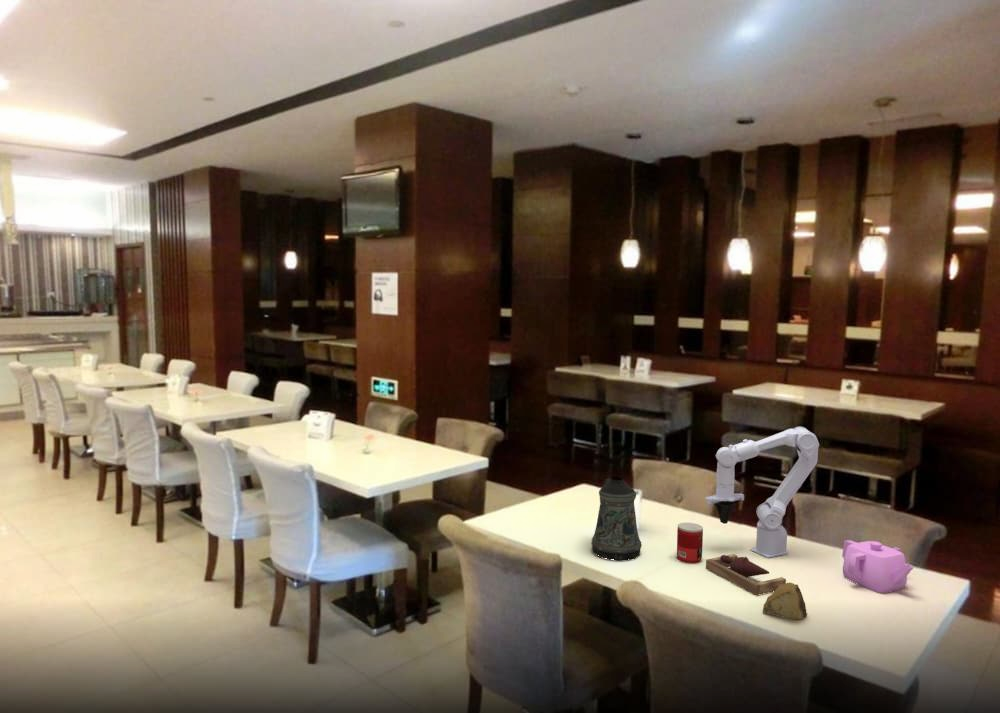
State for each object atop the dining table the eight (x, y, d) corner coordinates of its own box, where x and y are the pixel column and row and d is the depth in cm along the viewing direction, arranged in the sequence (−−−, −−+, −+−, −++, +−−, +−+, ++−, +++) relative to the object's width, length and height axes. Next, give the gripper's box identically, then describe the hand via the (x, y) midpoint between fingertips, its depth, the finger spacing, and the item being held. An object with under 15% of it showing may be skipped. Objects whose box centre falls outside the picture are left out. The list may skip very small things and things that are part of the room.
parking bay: (733, 563, 218) (734, 554, 217) (785, 588, 199) (786, 579, 198) (705, 568, 213) (706, 559, 213) (755, 595, 194) (756, 585, 194)
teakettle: (839, 567, 215) (841, 530, 214) (900, 576, 209) (902, 537, 208) (846, 589, 199) (848, 548, 198) (912, 598, 193) (915, 557, 192)
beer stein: (620, 565, 215) (621, 489, 213) (574, 548, 230) (576, 476, 227) (651, 553, 226) (653, 479, 224) (606, 537, 240) (607, 468, 238)
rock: (754, 607, 182) (790, 614, 175) (760, 576, 186) (797, 582, 178) (771, 621, 188) (807, 629, 180) (777, 591, 191) (812, 597, 184)
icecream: (773, 560, 204) (725, 552, 214) (765, 561, 199) (715, 552, 208) (772, 583, 203) (724, 574, 213) (764, 585, 197) (714, 576, 207)
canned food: (702, 564, 216) (704, 531, 215) (677, 562, 218) (678, 529, 217) (700, 555, 224) (701, 523, 223) (675, 553, 226) (676, 521, 225)
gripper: (715, 488, 221) (713, 528, 222) (750, 484, 226) (749, 523, 227) (701, 482, 228) (700, 522, 229) (736, 479, 233) (735, 517, 234)
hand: (723, 522), depth 228 cm, fingers closed
